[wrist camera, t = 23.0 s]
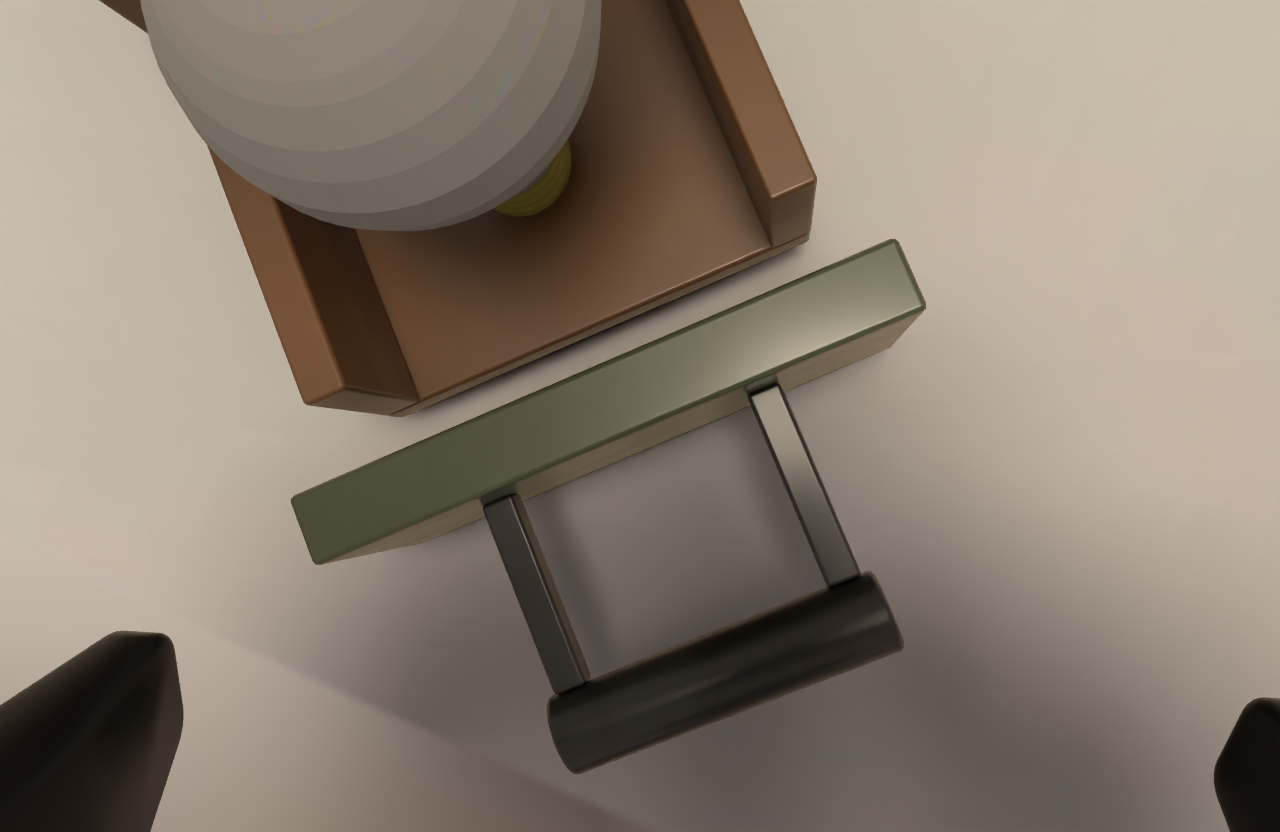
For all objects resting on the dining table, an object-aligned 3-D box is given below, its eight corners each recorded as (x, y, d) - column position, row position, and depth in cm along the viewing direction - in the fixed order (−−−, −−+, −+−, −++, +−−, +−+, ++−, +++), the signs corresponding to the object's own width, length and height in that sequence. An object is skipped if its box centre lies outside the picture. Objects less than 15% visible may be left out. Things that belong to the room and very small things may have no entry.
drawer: (997, 581, 19) (1067, 618, 15) (505, 771, 20) (421, 863, 16) (633, -248, 21) (591, -454, 16) (199, -31, 22) (42, -165, 18)
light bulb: (461, 358, 20) (138, 253, 10) (353, 115, 20) (-53, -213, 11) (713, 235, 19) (635, -8, 9) (596, -13, 20) (406, -485, 10)
